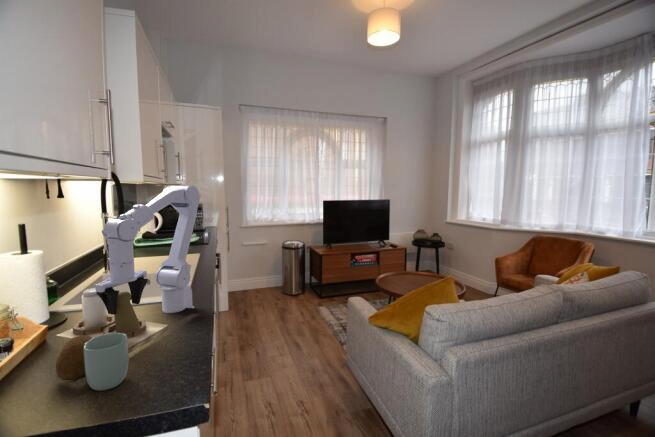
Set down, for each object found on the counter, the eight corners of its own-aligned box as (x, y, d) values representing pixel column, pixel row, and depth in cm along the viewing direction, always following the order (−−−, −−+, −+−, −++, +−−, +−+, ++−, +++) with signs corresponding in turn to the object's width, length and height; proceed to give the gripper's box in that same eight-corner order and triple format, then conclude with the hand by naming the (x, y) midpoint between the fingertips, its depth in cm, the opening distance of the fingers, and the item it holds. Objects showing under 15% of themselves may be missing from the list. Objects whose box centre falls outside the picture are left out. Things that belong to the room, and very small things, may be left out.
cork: (130, 332, 84) (120, 294, 84) (110, 336, 85) (100, 298, 85) (145, 323, 90) (136, 287, 90) (127, 327, 91) (117, 291, 91)
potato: (112, 355, 79) (110, 322, 78) (95, 383, 68) (92, 345, 67) (71, 361, 76) (69, 327, 75) (47, 391, 65) (44, 352, 64)
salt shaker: (97, 321, 94) (95, 286, 93) (112, 324, 93) (109, 288, 92) (78, 329, 89) (76, 292, 88) (93, 332, 87) (91, 294, 86)
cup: (80, 400, 62) (77, 353, 61) (92, 378, 69) (89, 336, 68) (126, 390, 65) (123, 346, 64) (132, 370, 72) (130, 330, 71)
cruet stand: (103, 319, 99) (103, 310, 99) (168, 329, 93) (168, 320, 93) (56, 340, 86) (55, 330, 85) (128, 353, 79) (128, 342, 79)
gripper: (109, 269, 78) (112, 320, 80) (154, 257, 92) (156, 300, 93) (87, 267, 80) (91, 317, 81) (135, 255, 94) (137, 298, 95)
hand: (124, 308), depth 87 cm, fingers open, 7 cm apart
